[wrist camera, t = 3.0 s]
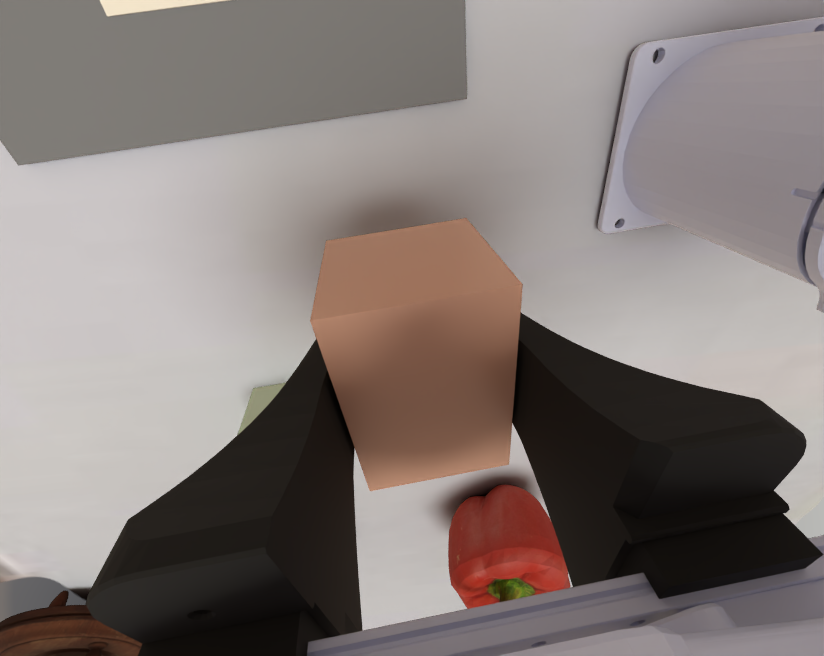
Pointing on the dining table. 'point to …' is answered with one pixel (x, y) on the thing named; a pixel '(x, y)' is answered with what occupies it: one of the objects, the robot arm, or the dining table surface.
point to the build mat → (213, 67)
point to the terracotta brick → (420, 349)
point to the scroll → (62, 633)
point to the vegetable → (504, 548)
